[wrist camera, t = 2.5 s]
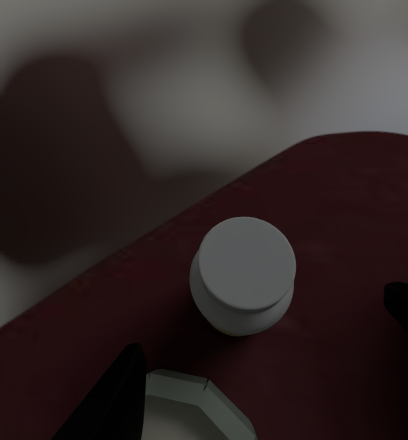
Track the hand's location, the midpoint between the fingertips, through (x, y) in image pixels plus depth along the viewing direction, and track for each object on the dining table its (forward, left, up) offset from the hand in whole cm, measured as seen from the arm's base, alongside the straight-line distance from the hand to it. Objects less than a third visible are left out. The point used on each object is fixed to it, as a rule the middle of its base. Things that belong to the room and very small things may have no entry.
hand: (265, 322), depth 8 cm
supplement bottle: (+2, +1, -10) cm, 10 cm away
